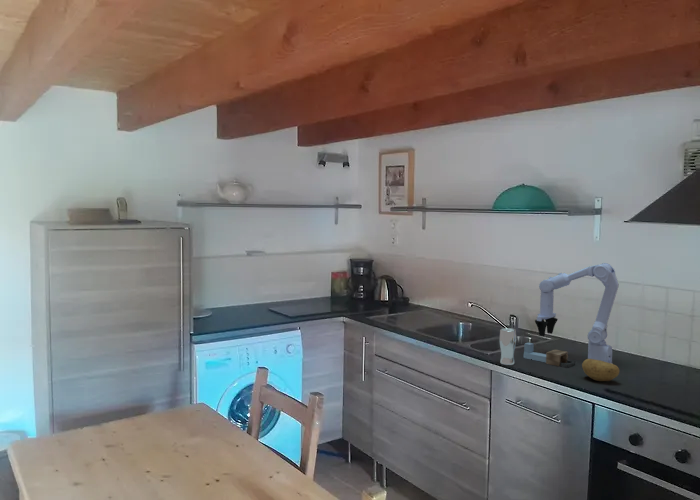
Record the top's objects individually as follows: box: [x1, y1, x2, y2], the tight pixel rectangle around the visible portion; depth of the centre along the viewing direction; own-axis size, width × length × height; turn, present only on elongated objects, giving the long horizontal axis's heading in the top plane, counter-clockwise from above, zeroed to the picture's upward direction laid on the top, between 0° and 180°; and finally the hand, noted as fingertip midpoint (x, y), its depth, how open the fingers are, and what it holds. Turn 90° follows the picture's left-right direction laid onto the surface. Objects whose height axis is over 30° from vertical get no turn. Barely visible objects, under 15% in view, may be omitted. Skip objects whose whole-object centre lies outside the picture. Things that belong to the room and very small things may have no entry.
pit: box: [559, 359, 576, 368], centre depth 251 cm, size 3×7×1 cm, turn 134°
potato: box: [581, 358, 620, 382], centre depth 229 cm, size 10×14×8 cm
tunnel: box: [545, 349, 569, 367], centre depth 254 cm, size 6×8×5 cm
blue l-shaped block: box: [522, 342, 546, 363], centre depth 261 cm, size 12×4×6 cm, turn 44°
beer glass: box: [499, 327, 517, 366], centre depth 254 cm, size 7×7×15 cm
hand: (545, 334), depth 267 cm, fingers open, 7 cm apart
